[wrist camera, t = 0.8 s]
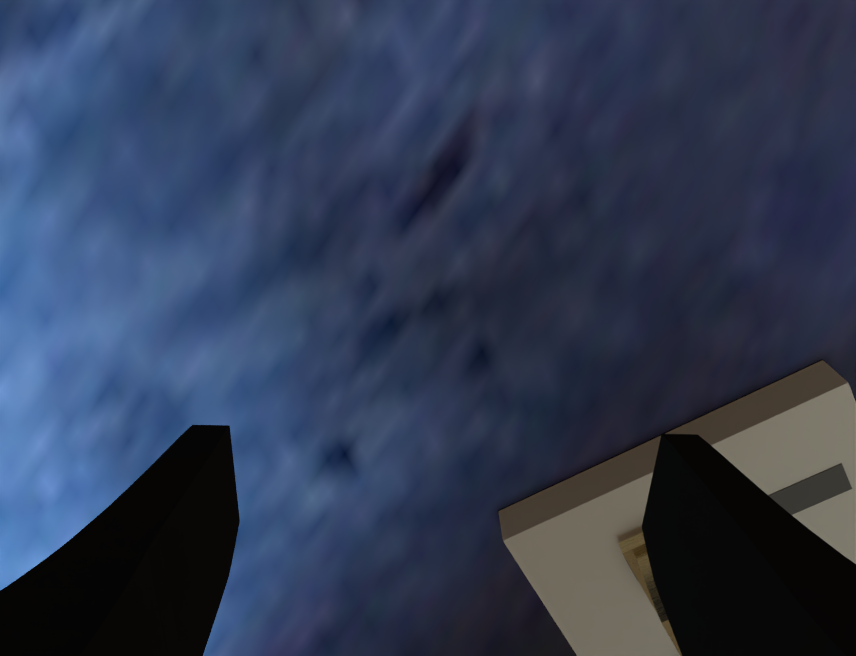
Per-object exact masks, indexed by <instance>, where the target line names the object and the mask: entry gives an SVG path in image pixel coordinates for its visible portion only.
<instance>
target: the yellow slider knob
mask: <svg viewBox="0 0 856 656" xmlns="http://www.w3.org/2000/svg"><path fill="white" fill-rule="evenodd" d="M619 546H620V548H621V551H622V554H623V555H624V557H625V559H626V561H627V562H628V564H629V566H630V568H631V569H632V571H633V573H634V574H635V576H636V578H637V580H638V581H639V583H640V585H641V587H642V588H643V590H644V592H645V594H646V595H647V597H648V599H649V601H650V602H651V604H652V606H653V607H654V609H655V611H656V613H657V614H658V616H659V618H660V621H661V623H662V625H663V627H664V628H665V630H666V632H667V634H668V635H669V637H670V639H671V641H672V642H673V644H674V646H675V647H676V649H677V651H678V653H679V654H680V656H682V654H681V652H680V649H679V646H678V644H677V641H676V639H675V636H674V633H673V631H672V628H671V626H670V623H669V620H668V618H667V615H666V612H665V610H664V607H663V604H662V602H661V599H660V596H659V593H658V591H657V588H656V585H655V582H654V579H653V575H652V571H651V567H650V562H649V558H648V554H647V550H646V545H645V540H644V536H643V532H641V533H639V534H637V535H634V536H632V537H630V538H628V539H625V540H623V541H621V542H619Z"/></svg>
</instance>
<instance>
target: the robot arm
mask: <svg viewBox="0 0 856 656" xmlns="http://www.w3.org/2000/svg"><path fill="white" fill-rule="evenodd" d="M239 521H240V520H239V510H238V501H237V492H236V482H235V473H234V463H233V454H232V444H231V435H230V426H222V425H192V426H191V427H190V428H189V429H188V430H186V431H185V432H184V433H183V434H182V435H181V436H180V437H179V438H178V439H177V440H176V441H175V442H174V443H173V444H172V445H171V446H170V447H169V448H168V449H167V450H166V451H165V452H164V453H163V454H162V455H161V456H160V457H159V458H158V459H157V460H156V461H155V462H154V463H153V464H152V465H151V466H150V467H149V468H148V469H147V470H146V471H145V472H144V473H143V474H142V475H141V476H140V477H139V478H138V479H137V480H136V481H135V482H134V483H133V484H132V485H131V486H130V487H129V488H128V489H127V490H126V491H125V492H124V493H122V494H121V495H120V496H119V497H118V498H117V499H116V500H115V501H114V502H113V503H112V504H111V505H110V506H109V507H108V508H106V509H105V510H104V511H103V512H102V513H101V514H100V515H98V516H97V517H96V518H95V519H94V520H93V521H91V522H90V523H89V524H88V525H87V526H86V527H84V528H83V529H82V530H81V531H80V532H79V533H78V534H76V535H75V536H74V537H73V538H72V539H71V540H69V541H68V542H67V543H66V544H64V545H63V546H62V547H61V548H59V549H58V550H57V551H55V552H54V553H53V554H52V555H50V556H49V557H48V558H46V559H45V560H44V561H42V562H41V563H39V564H38V565H37V566H35V567H34V568H32V569H31V570H30V571H28V572H27V573H26V574H24V575H23V576H21V577H20V578H19V579H17V580H16V581H14V582H13V583H11V584H10V585H8V586H7V587H5V588H4V589H2V590H1V591H0V656H203V653H204V650H205V647H206V644H207V641H208V638H209V635H210V632H211V629H212V626H213V623H214V620H215V617H216V614H217V611H218V608H219V605H220V602H221V599H222V596H223V593H224V590H225V586H226V583H227V580H228V577H229V573H230V568H231V563H232V558H233V553H234V548H235V543H236V537H237V532H238V526H239ZM642 531H643V536H644V540H645V545H646V550H647V554H648V558H649V562H650V567H651V571H652V575H653V579H654V582H655V585H656V588H657V591H658V593H659V596H660V599H661V602H662V604H663V607H664V610H665V612H666V615H667V618H668V620H669V623H670V626H671V628H672V631H673V633H674V636H675V639H676V641H677V644H678V646H679V649H680V652H681V654H682V656H856V564H855V563H853V562H852V561H851V560H849V559H848V558H846V557H845V556H844V555H842V554H841V553H840V552H838V551H837V550H836V549H834V548H833V547H832V546H830V545H829V544H828V543H826V542H825V541H824V540H823V539H821V538H820V537H819V536H817V535H816V534H815V533H813V532H812V531H811V530H809V529H808V528H807V527H806V526H804V525H803V524H802V523H801V522H800V521H798V520H797V519H796V518H795V517H793V516H792V515H791V514H790V513H788V512H787V511H786V510H785V509H784V508H782V507H781V506H780V505H779V504H778V503H777V502H775V501H774V500H773V499H772V498H771V497H769V496H768V495H767V494H766V493H765V492H764V491H762V490H761V489H760V488H759V487H758V486H757V485H756V484H754V483H753V482H752V481H751V480H750V479H749V478H748V477H746V476H745V475H744V474H743V473H742V472H741V471H740V470H738V469H737V468H736V467H735V466H734V465H733V464H732V463H731V462H729V461H728V460H727V459H726V458H725V457H724V456H723V455H721V454H720V453H719V452H718V451H717V450H716V449H715V448H713V447H712V446H711V445H710V444H709V443H708V442H706V441H705V440H704V439H703V438H701V437H700V436H699V435H698V434H661V439H660V443H659V448H658V452H657V457H656V462H655V466H654V471H653V476H652V480H651V485H650V490H649V494H648V499H647V504H646V508H645V513H644V518H643V522H642Z"/></svg>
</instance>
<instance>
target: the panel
mask: <svg viewBox="0 0 856 656" xmlns="http://www.w3.org/2000/svg"><path fill="white" fill-rule="evenodd" d="M665 434H698V435H699V436H700V437H701V438H703V439H704V440H705V441H706V442H708V443H709V444H710V445H711V446H712V447H713V448H715V449H716V450H717V451H718V452H719V453H720V454H721V455H723V456H724V457H725V458H726V459H727V460H728V461H729V462H731V463H732V464H733V465H734V466H735V467H736V468H737V469H738V470H740V471H741V472H742V473H743V474H744V475H745V476H746V477H748V478H749V479H750V480H751V481H752V482H753V483H754V484H756V485H757V486H758V487H759V488H760V489H761V490H762V491H764V492H765V493H766V494H767V495H768V496H769V497H771V498H772V499H773V500H774V501H775V502H777V503H778V504H779V505H780V506H781V507H782V508H784V509H785V510H786V511H787V512H788V513H790V514H791V515H792V516H793V517H795V518H796V519H797V520H798V521H800V522H801V523H802V524H803V525H804V526H806V527H807V528H808V529H809V530H811V531H812V532H813V533H815V534H816V535H817V536H819V537H820V538H821V539H823V540H824V541H825V542H826V543H828V544H829V545H830V546H832V547H833V548H834V549H836V550H837V551H838V552H840V553H841V554H842V555H844V556H845V557H846V558H848V559H849V560H851V561H852V562H853V563H855V564H856V402H855V399H854V396H853V394H852V391H851V389H850V386H849V384H848V382H847V381H846V380H845V379H843V378H842V377H841V376H840V375H839V374H838V373H837V372H836V371H835V370H833V369H832V368H831V367H830V366H829V365H828V364H827V363H826V362H824V361H823V360H822V361H820V362H817V363H815V364H813V365H811V366H809V367H807V368H805V369H802V370H800V371H798V372H796V373H794V374H792V375H790V376H787V377H785V378H783V379H781V380H779V381H777V382H775V383H772V384H770V385H768V386H766V387H764V388H762V389H760V390H757V391H755V392H753V393H751V394H749V395H747V396H745V397H742V398H740V399H738V400H736V401H734V402H732V403H730V404H727V405H725V406H723V407H721V408H719V409H717V410H715V411H712V412H710V413H708V414H706V415H704V416H702V417H700V418H697V419H695V420H693V421H691V422H689V423H687V424H684V425H682V426H680V427H678V428H676V429H674V430H672V431H669V432H667V433H665ZM660 439H661V436H659V437H657V438H654V439H652V440H650V441H648V442H646V443H644V444H642V445H639V446H637V447H635V448H633V449H631V450H629V451H627V452H624V453H622V454H620V455H618V456H616V457H614V458H612V459H609V460H607V461H605V462H603V463H601V464H599V465H597V466H594V467H592V468H590V469H588V470H586V471H584V472H582V473H579V474H577V475H575V476H573V477H571V478H569V479H567V480H564V481H562V482H560V483H558V484H556V485H554V486H552V487H549V488H547V489H545V490H543V491H541V492H539V493H537V494H534V495H532V496H530V497H528V498H526V499H524V500H522V501H519V502H517V503H515V504H513V505H511V506H509V507H507V508H504V509H502V510H500V511H498V513H499V519H500V526H501V532H502V538H503V542H504V543H505V545H506V546H507V548H508V549H509V551H510V553H511V554H512V556H513V557H514V559H515V560H516V562H517V563H518V565H519V566H520V568H521V570H522V571H523V573H524V574H525V576H526V577H527V579H528V580H529V582H530V583H531V585H532V587H533V588H534V590H535V591H536V593H537V594H538V596H539V597H540V599H541V601H542V602H543V604H544V605H545V607H546V608H547V610H548V611H549V613H550V614H551V616H552V618H553V619H554V621H555V622H556V624H557V625H558V627H559V628H560V630H561V631H562V633H563V635H564V636H565V638H566V639H567V641H568V642H569V644H570V645H571V647H572V649H573V650H574V652H575V653H576V655H577V656H680V654H679V653H678V651H677V649H676V647H675V646H674V644H673V642H672V641H671V639H670V637H669V635H668V634H667V632H666V630H665V628H664V627H663V625H662V623H661V621H660V618H659V616H658V614H657V613H656V611H655V609H654V607H653V606H652V604H651V602H650V601H649V599H648V597H647V595H646V594H645V592H644V590H643V588H642V587H641V585H640V583H639V581H638V580H637V578H636V576H635V574H634V573H633V571H632V569H631V568H630V566H629V564H628V562H627V561H626V559H625V557H624V555H623V554H622V551H621V548H620V546H619V542H621V541H623V540H625V539H628V538H630V537H632V536H634V535H637V534H639V533H641V532H643V531H642V522H643V518H644V513H645V508H646V504H647V499H648V494H649V490H650V485H651V480H652V476H653V471H654V466H655V462H656V457H657V452H658V448H659V443H660Z"/></svg>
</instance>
